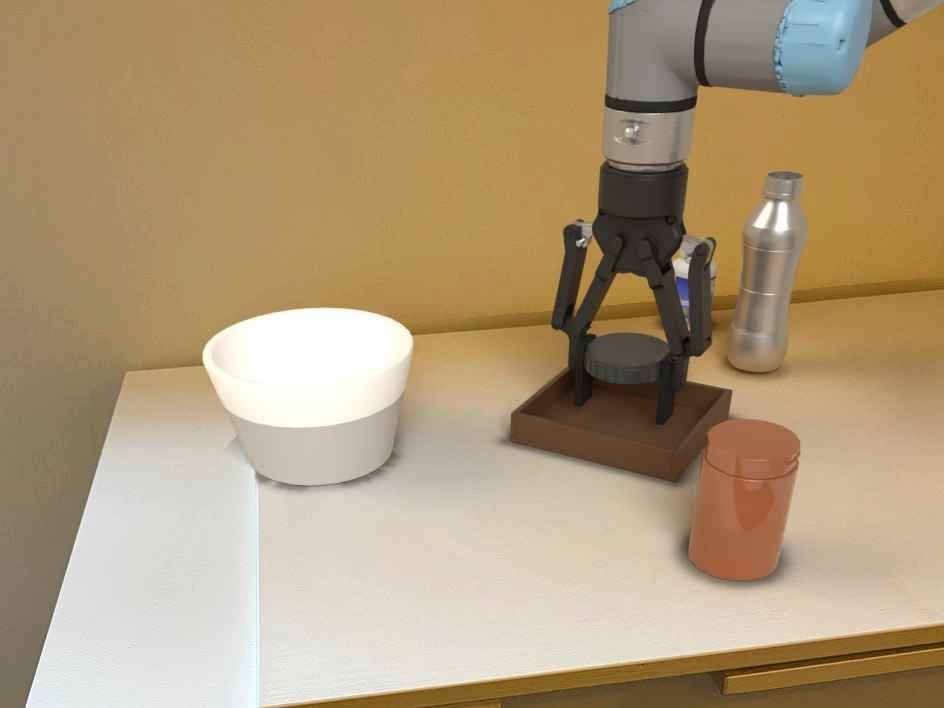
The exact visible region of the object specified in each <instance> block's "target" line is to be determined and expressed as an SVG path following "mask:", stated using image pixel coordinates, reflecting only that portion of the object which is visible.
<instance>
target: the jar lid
mask: <svg viewBox="0 0 944 708" xmlns="http://www.w3.org/2000/svg"><path fill="white" fill-rule="evenodd" d="M669 352H670V349H669V346H668V342H667V341H665V340H663V339H661V338H659V337H658V336H657V337H656V336H654V335H650V334H645V333H640V332H611V333H607V334H602V335H599V336H596V338H594V339H592V340H591V341H590V342H589V343H588V344H587V345H586V352H585V356H584V365H585V370H586V371H587V372H588V373H589V374H590V375H591V376H593V377H595V378H597V379H599V380H602V381H606V382H610V383H615V384H626V385H636V384H645V383H650V382H654V381H657V380H659V379H660V377H661V368H662V359H663V358H664V357H665V356H666V355H667V354H668V353H669Z"/></svg>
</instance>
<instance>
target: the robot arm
mask: <svg viewBox="0 0 944 708" xmlns="http://www.w3.org/2000/svg"><path fill="white" fill-rule="evenodd" d="M942 4H944V0H610V2H609V6H608V8H607V15H608V17H609V18H608V34H607V35H608V37H607V56H606V57H607V59H606V79H605V82H606V83H605V93H604V103H603V119H602V131H601V132H602V133H601V148H600V149H601V150H600V153H601V155H602V157H603V158H604V159H605V160H604V161H603V163H602V164H601V165H600V166H599V177H598V178H599V179H598V193H597V194H598V195H597V214H596V216H595V218H594V219H593V221H585V220H584V219H582V218H577V219H576V220H574V221H572V222H571V223H569V224H567V225H566V226H564V228H563V229H562V235H563V236H562V237H563V245H564V254H563V255H564V256H563V261H562V265H561V271H560V274H559V275H560V276H559V279H558V280H559V281H558V286H557V291H556V297H555V301H554V306H553V311H552V315H551V320H550V325H551V328H552V329H553V330H554V331H561V332H562V333H564V334H565V335H566V336H567V338H568V357H567V358H568V359H567V366H569V369H571V370H576V377H575V395H574V406H579V407H581V406H582V405H583V404H585V403H586V402H587V401H588V400H589V399H590V398H591V397H592V388H593V376H591V375H590V374H589V373H588V372H587V371H586V370H585V365H584V356H585V352H586V345H587V344H588V343H589V342H590V341H591V340H592V339H594V338H596V337H597V334H596V333H591V332H589V333H588V331H589V330H590V329H591V328H592V324H593V322H594V319H595V317H596V316H597V314H598V312H599V309H600V308H601V306H602V303H603V302H604V300H605V298H606V296H607V294H608V292H609V290H610V288H611V286H612V284H613V282H614V280H615V278H616V276H617V275H618V274H622V275H623V274H632V275H634V276H637V277H641V278H646V281H647V285H648V287H649V289H650V290H652V293H653V297H654V300H655V303H656V304H655V305H656V307H657V310H658V314H659V318H660V320H661V324H662V328H663V331H664V335H665V339H666V343H668V346H669V349H670V352H669V353H668V354H667V355H666V356H665V357H664V358H663V359H662V368H661V377H660V386H659V395H658V404H657V413H656V422H655V424H659V425H663V424H664V423H665V422H666V421H667V420H668V419H669V418H670V417H671V416H672V415H673V408H674V400H675V391H678V392H679V391H680V390H681V389H682V388H683V387H684V385H685V383H686V382H687V381H688V373H689V365H690V358H691V357H695V358H700V357H702V356H703V355H704V354H705V353H706V351H708V350H709V348H711V347H712V345H713V320H712V319H713V317H712V307H711V276H710V264H711V261H712V260H713V257H714V254H715V251H716V248H717V240H716V239H715V238H714V237H713V236H707V237H706V238H705V239H700V238H701V237H698V236H694V235H691V234H688V233H687V228H686V226H685V222H684V214H685V209H686V208H685V207H686V200H687V199H686V198H687V191H688V182H689V181H688V180H689V172H690V169H689V167H688V165H687V163H686V162H685V161H686V160H688V159H689V158H690V157H691V156H692V148H693V147H692V145H693V137H694V129H695V128H694V127H695V118H696V110H697V103H698V90H699V86H700V87H705V88H706V87H707V88H714V87H715V88H722V89H723V88H725V89H735V90H745V91H753V92H754V91H755V92H756V91H757V92H763V93H764V92H765V93H774V94H775V93H776V94H786V95H791V97H794V98H801V99H802V98H803V97H806V96H827V97H830V96H832V97H833V96H837V95H840V94H841V93H843V92H845V91H846V90H847V89H848V88H849V87H850V86H851V85H852V83H853V81H854V78H855V75H857V73H858V72H859V69H860V66H861V64H862V61H863V57H864V54H865V51H866V50H867V49H868V48H869V47H871V46H872V45H874V44H876V43H878V42H880V41H881V40H883V39H885V38H886V37H889V36H890V35H892V34H893V33H895V32H897V31H898V30H900V29H902V28H903V27H905V26H906V25H907V24H910V23H911V22H913V21H915V20H916V19H918V18H920V17H921V16H923V15H925V14H927V13H928V12H931V11H933V10H934V9H935V8H937V7H939V6H941V5H942ZM593 238H594V240H595V241H596V244H597V245H598V248H599V249H600V251H601V253H602V254H603V255H602V257H601V260H600V262H599V264H598V265H597V268H596V270H595V273H594V276H593V279H592V281H591V283H590V285H589V287H588V289H587V291H586V293H585V295H584V297H583V299H582V301H581V304H580V306H579V307H578V310H577V312H576V313H575V309H576V305H577V301H578V295H579V290H580V286H581V281H582V277H583V272H584V268H585V263H586V258H587V254H588V246H590V245H591V243H592V240H593ZM680 248H681V249H683V250H684V252H685V261H686V263H688V264H690V265H689V270H688V294H689V320H690V331H689V330H688V326H687V322H686V319H685V315H684V312H683V308H682V304H681V301H680V297H679V293H678V290H677V286H676V283H675V270H674V267H673V260H672V258H673V257H674V255H675V254H676V253H677V252H679V249H680ZM574 314H575V316H574Z"/></svg>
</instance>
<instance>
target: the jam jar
mask: <svg viewBox="0 0 944 708" xmlns="http://www.w3.org/2000/svg"><path fill="white" fill-rule="evenodd" d="M707 435H708V437H707V444H706V445H705V447H704V448H703V449H702V453H701V460H700V467H699V474H698V479H697V488H696V494H695V502H694V508H693V514H692V521H691V528H690V534H689V541H688V542H689V543H688V549H687V554H688V555H687V556H688V558H689V560H690V562H691V563H692V564H693V565H694V566H695V567H696V568H697V569H698V570H700V571H702V573H705V574H707V575H709V576H711V577H715V578H717V579H721V580H726V581H734V582H746V581H747V582H748V581H755V580H760V579H762V578H765V577H767V576H769V575H770V574H772V573H773V572H774V571H775V570H776V568H777V567H778V564H779V559H780V555H781V550H782V546H783V541H784V536H785V532H786V528H787V522H788V518H789V513H790V508H791V504H792V499H793V495H794V490H795V486H796V481H797V476H798V471H799V466H800V461H799V458H800V456H801V440H800V438H799V437H798V435H797V434H796V433H795V432H794V431H792V430H791V429H789V428H787V426H786V427H785V426H783V425H781V424H778V423H775V422H772V421H767V420H764V419H763V420H762V419H755V418H753V419H752V418H738V419H737V418H736V419H729V420H726V421H725V422H722V423H719V424H717V425H715V426H714V427H712V428H710V429H709V431H708V432H707Z"/></svg>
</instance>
